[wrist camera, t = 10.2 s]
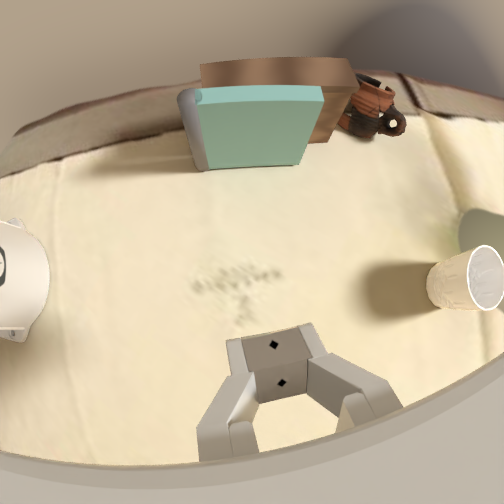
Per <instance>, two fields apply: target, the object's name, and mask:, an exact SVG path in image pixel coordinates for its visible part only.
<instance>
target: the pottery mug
mask: <svg viewBox="0 0 504 504" xmlns="http://www.w3.org/2000/svg"><path fill="white" fill-rule="evenodd" d="M354 74H355V77H356V79H357V81H358V83H359V85H360V88H359V90H358V92H357V93H354V94H353V95H352V96H351V103H352V105H353V108H352V114H351V116H348V115H347V114H345V113H344V112H343V113H342V115H341V117H340V119H339V121H338V124H339V125H340V126H341V127H343V128H344V129H346V130H348V131H349V132H351V133H353V134H354V135H357V136H359V137H363V138H371V137H372V135H373V134H375V133H376V132H378V134H385V135H388V136H392V137H394V136H399V135H401V134H402V133H404V132H405V127H406V119H405V117H404V116H403V115H402V114H401V113H400V112H399V111H397V110H396V108H395V106H393V105H394V100H393V98H394V96H395V92H394V91H393V90H392V89H391V88H389V87H388V86H387V87H386V88H385V90H383V89H380V88H379V86H380V84H381V82H380V81H378V80H376V79H373V78H371V77H369V76H366V75H362V74H359V73H354ZM379 112H382V113H384V114H383V116H381V117H380V118H379ZM394 119H395V120H396V121H397V126H396V127H390V125H389V123H390V121H391V120H394Z"/></svg>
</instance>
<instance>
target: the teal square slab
mask: <svg viewBox="0 0 504 504" xmlns="http://www.w3.org/2000/svg"><path fill="white" fill-rule="evenodd" d="M324 102H325V101H324V97H323V94H322V90H321V86H303V85H251V86H229V87H214V88H203V89H195V88H189V89H185V90H183V91H182V92H180V93H179V95H178V96H177V103H178V106H179V110H180V114H181V117H182V121H183V124H184V128H185V132H186V135H187V139H188V142H189V146H190V149H191V153H192V156H193V160H194V163H195V166H196V168H197V169H198V170H200V171H207V170H209V169H220V168H234V167H251V166H272V165H299V163H300V161H301V158H302V156H303V153H304V151H305V149H306V146H307V144H308V141H309V139H310V136H311V134H312V131H313V129H314V126H315V124H316V121H317V119H318V117H319V114H320V112H321V109H322V107H323V104H324Z"/></svg>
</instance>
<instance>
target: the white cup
mask: <svg viewBox="0 0 504 504" xmlns="http://www.w3.org/2000/svg"><path fill="white" fill-rule="evenodd" d="M426 290H427V293H428V297H429V299H430V300H431V302H432V303H433V304H434V305H435V306H437V307H439V308H442V309H453V310H475V311H489V310H492V309H494V308H495V307H496V306H497V305H498V304H499V303H500V301H501V299H502V297H503V294H504V265H503V262H502V260H501V258H500V256H499V255H498V253H497V252H496V251H495V250H494V249H493V248H492V247H490V246H487V245H482V246H479V247H476V248H474V249H471V250H468V251H466V252H463V253H460V254H458V255H456V256H453V257H451V258H448V259H447V260H445V261H442V262H439V263H437V264H436V265H434V266H433V267H432V268H431V269H430V271H429V274H428V276H427V281H426Z"/></svg>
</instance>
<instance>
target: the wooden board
mask: <svg viewBox="0 0 504 504" xmlns="http://www.w3.org/2000/svg"><path fill="white" fill-rule="evenodd" d="M200 71H201V82H202V89H203V88H214V87H229V86H251V85H303V86H321V90H322V94H323V97H324V101H325V102H324V104H323V107H322V109H321V112H320V114H319V117H318V119H317V121H316V124H315V126H314V129H313V131H312V134H311V136H310V139H309V141H308V143H325V142H328V140H329V138H330V136H331V134H332V132H333V130H334V129H335V127H336V125H337V123H338V121H339V119H340V117H341V115H342V113H343V111H344V109H345V107H346V105H347V103H348V101H349V99H350V97H351V95H352V93H357V92H358V90H359V88H360V85H359V83H358V81H357V79H356V77H355V74H354V72H353V70H352V68H351V66H350V64H349V62H348V60H347V59H345V58H326V57H325V58H324V57H277V58H258V59H243V60H232V61H223V62H214V63H207V64H200Z"/></svg>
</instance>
